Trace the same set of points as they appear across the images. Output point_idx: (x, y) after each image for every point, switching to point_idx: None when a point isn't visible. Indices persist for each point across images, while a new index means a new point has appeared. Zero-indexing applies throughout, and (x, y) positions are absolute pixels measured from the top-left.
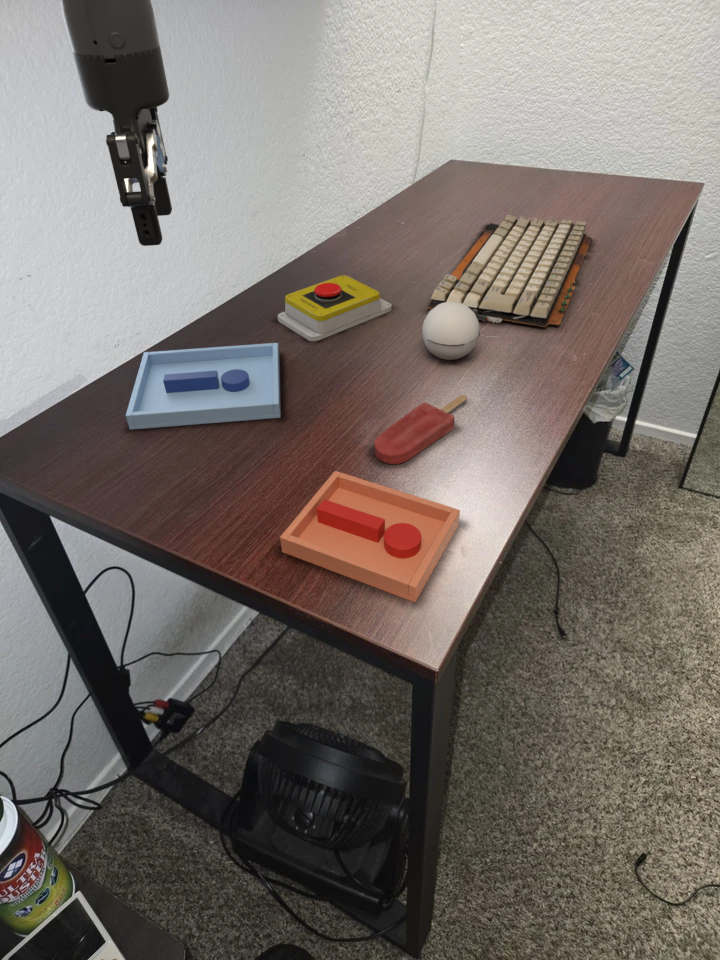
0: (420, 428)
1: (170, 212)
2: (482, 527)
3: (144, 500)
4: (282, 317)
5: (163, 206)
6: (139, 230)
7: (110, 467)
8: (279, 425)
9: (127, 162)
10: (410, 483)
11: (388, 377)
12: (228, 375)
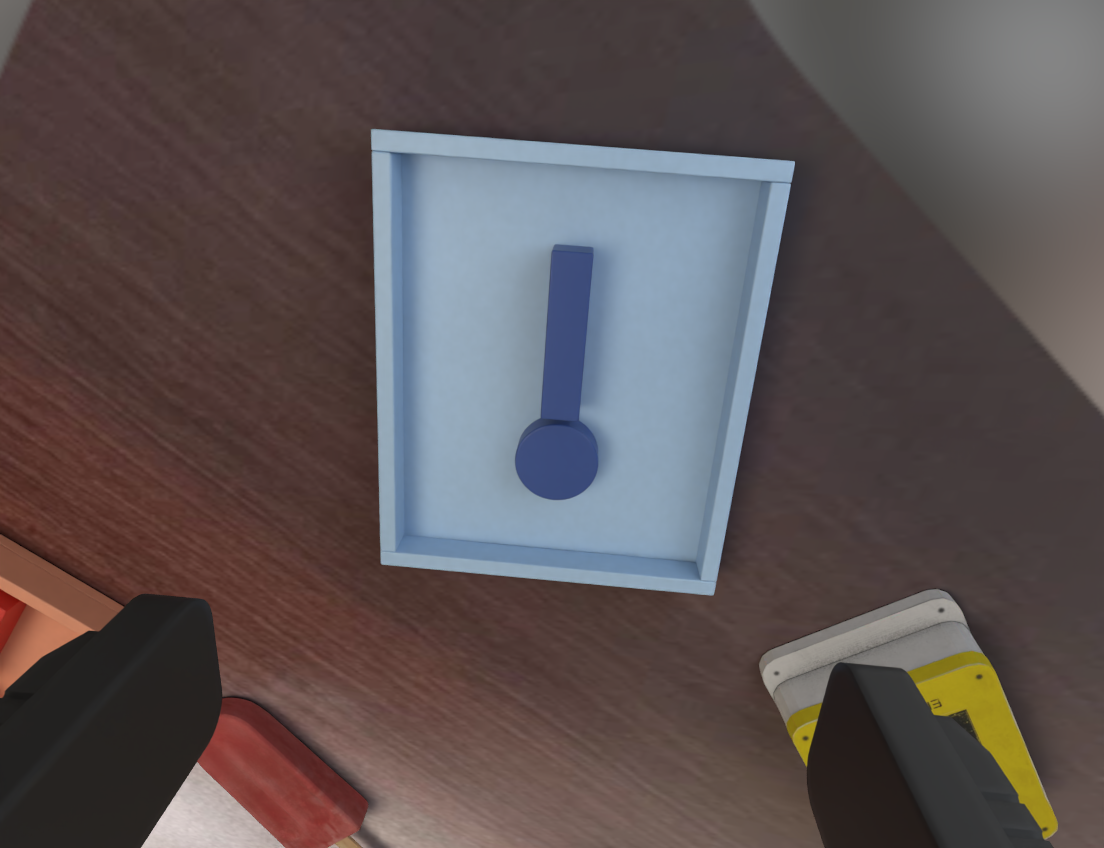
0: (269, 800)
1: (811, 787)
2: None
3: (71, 202)
4: (926, 610)
5: (836, 798)
6: (1, 703)
7: (206, 87)
8: (362, 534)
9: None
10: None
11: (528, 776)
12: (566, 446)
